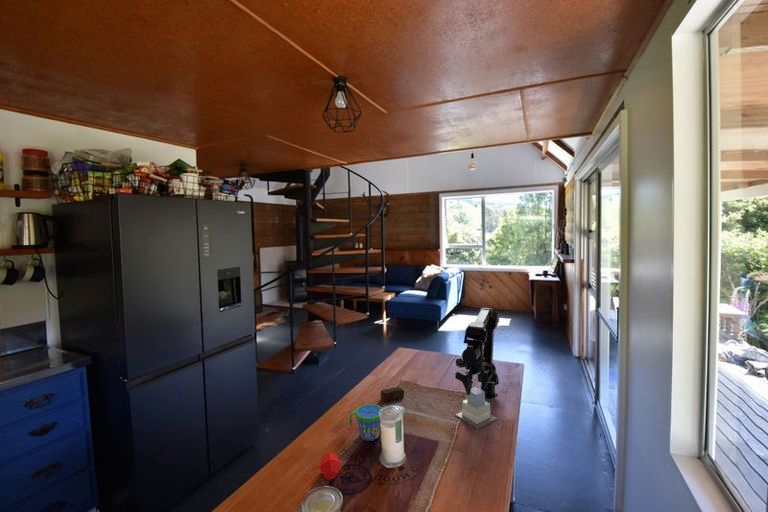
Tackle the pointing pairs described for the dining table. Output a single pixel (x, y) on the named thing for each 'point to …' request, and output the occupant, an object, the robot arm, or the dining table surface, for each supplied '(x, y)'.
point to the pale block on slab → (476, 414)
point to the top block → (476, 397)
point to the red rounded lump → (329, 466)
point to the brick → (392, 394)
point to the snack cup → (367, 421)
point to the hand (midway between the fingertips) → (475, 391)
